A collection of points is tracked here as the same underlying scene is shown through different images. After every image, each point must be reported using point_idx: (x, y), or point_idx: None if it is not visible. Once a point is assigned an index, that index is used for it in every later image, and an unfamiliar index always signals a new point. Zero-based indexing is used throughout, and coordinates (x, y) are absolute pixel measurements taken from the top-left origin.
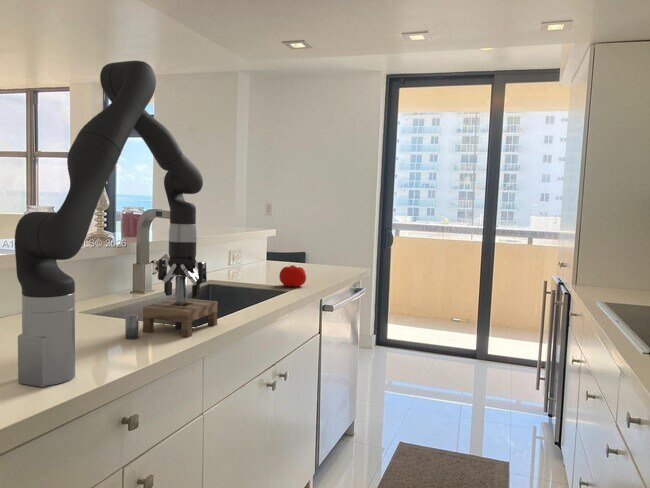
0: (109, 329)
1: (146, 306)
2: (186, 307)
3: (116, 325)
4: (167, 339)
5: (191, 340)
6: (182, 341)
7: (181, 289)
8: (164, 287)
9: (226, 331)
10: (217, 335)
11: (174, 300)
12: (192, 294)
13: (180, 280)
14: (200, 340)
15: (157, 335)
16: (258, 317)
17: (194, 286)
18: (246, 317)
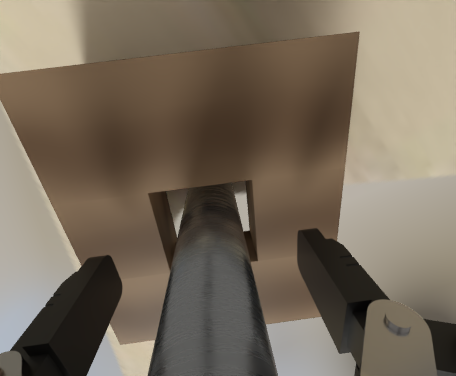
0: (446, 19)
1: (347, 61)
2: (116, 177)
3: (446, 91)
4: (128, 7)
5: (37, 51)
6: (50, 13)
7: (176, 278)
8: (361, 268)
9: (57, 223)
10: (32, 168)
11: (297, 271)
12: (91, 271)
13: (172, 368)
14: (11, 72)
15: (211, 44)
16: (120, 365)
17: (31, 339)
18: (145, 353)
